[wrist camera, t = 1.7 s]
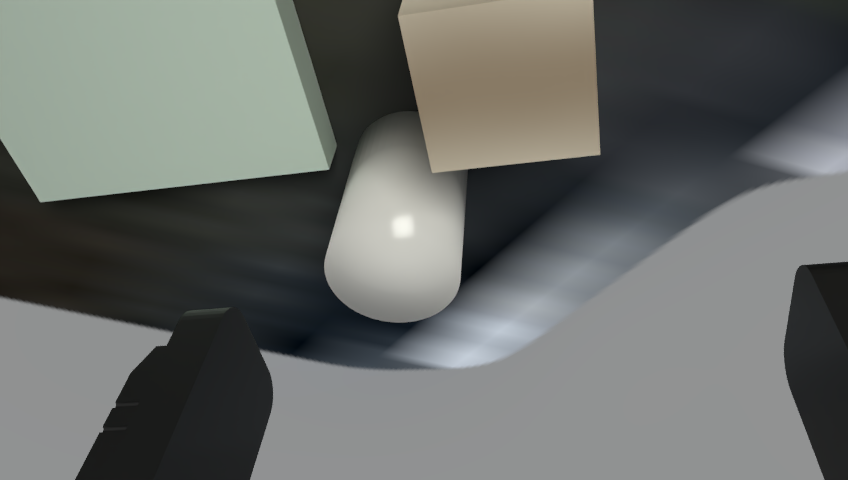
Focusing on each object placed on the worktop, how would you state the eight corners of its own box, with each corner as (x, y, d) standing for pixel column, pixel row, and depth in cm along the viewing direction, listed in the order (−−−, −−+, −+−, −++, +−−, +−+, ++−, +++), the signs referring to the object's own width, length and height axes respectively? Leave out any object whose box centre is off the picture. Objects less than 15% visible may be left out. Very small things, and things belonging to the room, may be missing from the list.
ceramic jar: (343, 118, 25) (307, 227, 21) (458, 104, 24) (448, 213, 20) (370, 211, 28) (343, 326, 23) (476, 200, 27) (470, 317, 22)
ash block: (425, -83, 21) (397, 16, 15) (569, -108, 20) (592, -14, 15) (448, 48, 23) (432, 172, 18) (577, 30, 23) (600, 154, 17)
